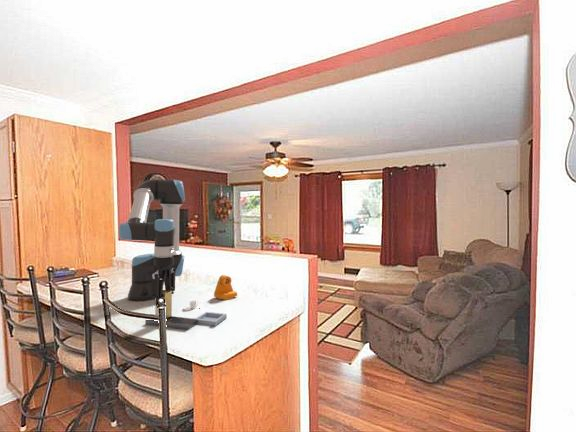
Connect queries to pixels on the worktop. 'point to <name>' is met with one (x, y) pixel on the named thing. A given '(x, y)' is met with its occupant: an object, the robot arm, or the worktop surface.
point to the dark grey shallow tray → (176, 323)
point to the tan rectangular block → (167, 302)
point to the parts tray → (211, 318)
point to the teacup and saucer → (191, 306)
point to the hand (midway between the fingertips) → (163, 311)
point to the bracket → (224, 288)
